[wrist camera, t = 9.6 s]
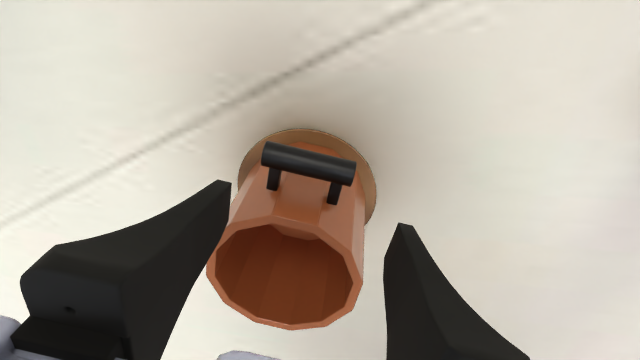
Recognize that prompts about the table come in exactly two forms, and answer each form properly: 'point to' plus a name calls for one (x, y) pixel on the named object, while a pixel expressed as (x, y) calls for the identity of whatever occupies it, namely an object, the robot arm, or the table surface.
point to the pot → (293, 239)
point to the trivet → (319, 140)
